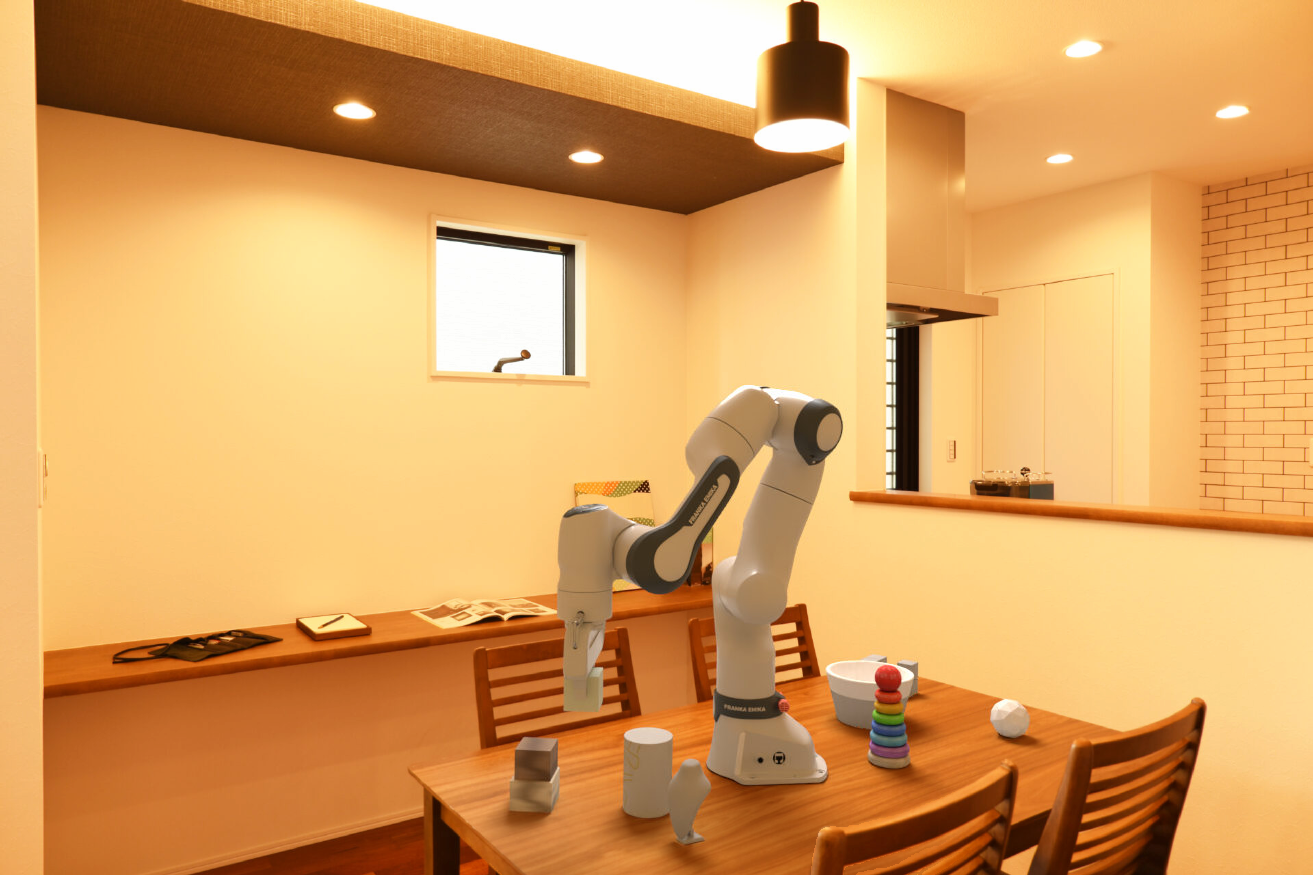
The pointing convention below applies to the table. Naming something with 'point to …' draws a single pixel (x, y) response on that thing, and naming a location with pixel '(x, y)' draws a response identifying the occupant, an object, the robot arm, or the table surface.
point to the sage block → (593, 693)
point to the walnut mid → (536, 759)
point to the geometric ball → (1010, 718)
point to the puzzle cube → (904, 663)
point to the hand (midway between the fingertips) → (584, 692)
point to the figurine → (687, 799)
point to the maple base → (534, 794)
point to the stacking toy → (888, 722)
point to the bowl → (860, 690)
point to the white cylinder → (647, 772)
